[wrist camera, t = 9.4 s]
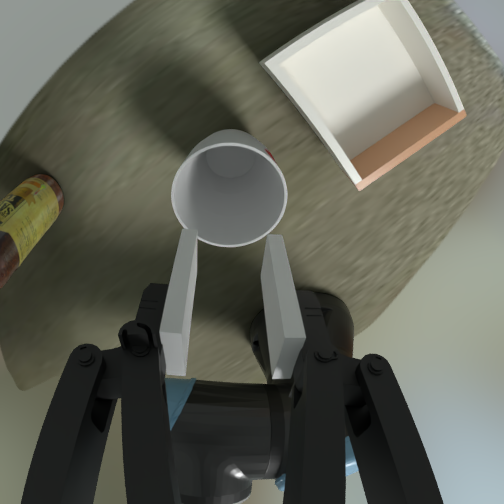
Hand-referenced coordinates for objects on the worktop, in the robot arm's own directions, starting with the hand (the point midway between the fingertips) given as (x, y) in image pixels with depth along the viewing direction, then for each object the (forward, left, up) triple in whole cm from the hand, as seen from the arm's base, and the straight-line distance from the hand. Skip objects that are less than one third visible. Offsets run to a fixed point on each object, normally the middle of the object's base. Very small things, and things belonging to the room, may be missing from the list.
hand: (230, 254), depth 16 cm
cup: (0, 0, -17) cm, 17 cm away
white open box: (-1, -14, -17) cm, 22 cm away
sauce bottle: (+12, +19, -17) cm, 28 cm away
